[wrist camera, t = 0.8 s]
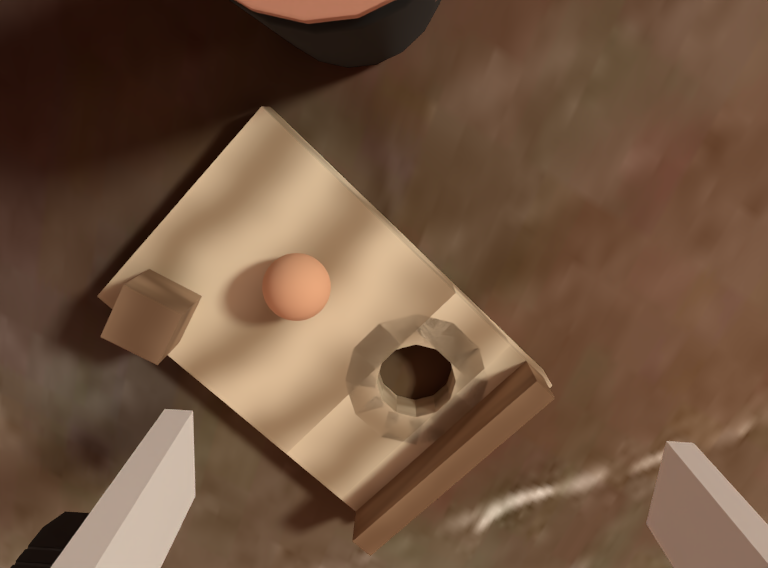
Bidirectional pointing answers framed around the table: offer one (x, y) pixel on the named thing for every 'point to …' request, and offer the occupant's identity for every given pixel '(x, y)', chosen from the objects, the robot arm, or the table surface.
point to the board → (334, 331)
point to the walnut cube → (150, 316)
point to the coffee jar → (345, 26)
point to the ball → (296, 286)
